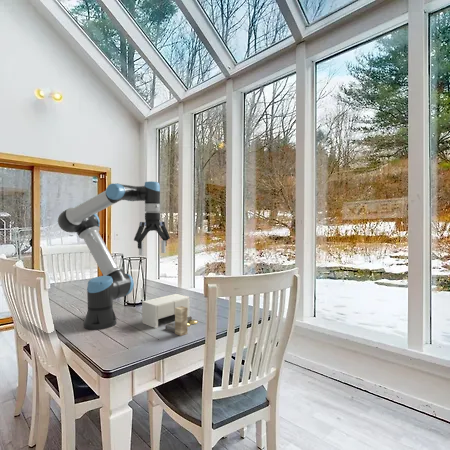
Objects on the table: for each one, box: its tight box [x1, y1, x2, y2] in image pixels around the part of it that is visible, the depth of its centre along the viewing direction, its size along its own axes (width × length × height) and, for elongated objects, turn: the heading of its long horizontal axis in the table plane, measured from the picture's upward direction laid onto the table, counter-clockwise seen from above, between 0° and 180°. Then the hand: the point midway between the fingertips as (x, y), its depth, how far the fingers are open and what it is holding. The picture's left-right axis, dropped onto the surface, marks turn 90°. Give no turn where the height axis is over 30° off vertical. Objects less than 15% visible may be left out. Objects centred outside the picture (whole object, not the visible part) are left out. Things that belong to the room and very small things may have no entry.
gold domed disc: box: [189, 319, 199, 325], centre depth 162 cm, size 4×4×1 cm
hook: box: [164, 306, 193, 337], centre depth 154 cm, size 17×12×12 cm
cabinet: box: [141, 293, 191, 329], centre depth 165 cm, size 22×11×11 cm, turn 138°
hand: (152, 254), depth 163 cm, fingers open, 13 cm apart
